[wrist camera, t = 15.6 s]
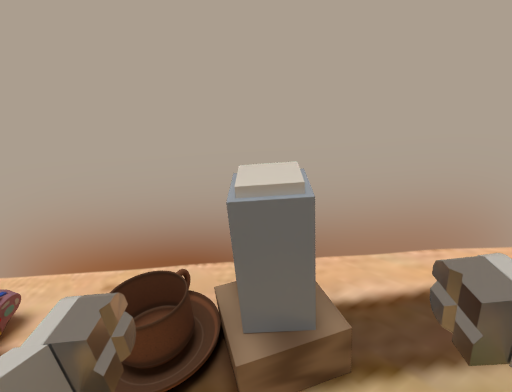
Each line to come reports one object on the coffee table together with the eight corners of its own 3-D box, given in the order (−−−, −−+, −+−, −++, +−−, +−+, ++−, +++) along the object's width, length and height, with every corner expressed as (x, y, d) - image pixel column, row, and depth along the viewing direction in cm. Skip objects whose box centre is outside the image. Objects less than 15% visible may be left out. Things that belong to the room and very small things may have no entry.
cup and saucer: (125, 306, 35) (110, 260, 33) (229, 300, 35) (222, 253, 32) (61, 415, 24) (32, 358, 22) (212, 410, 23) (198, 351, 21)
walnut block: (303, 302, 33) (301, 263, 31) (350, 374, 25) (352, 327, 23) (221, 327, 31) (214, 287, 29) (244, 414, 23) (235, 366, 21)
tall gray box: (306, 282, 28) (303, 158, 24) (315, 329, 23) (314, 184, 19) (246, 285, 29) (232, 163, 24) (243, 333, 24) (224, 190, 19)
